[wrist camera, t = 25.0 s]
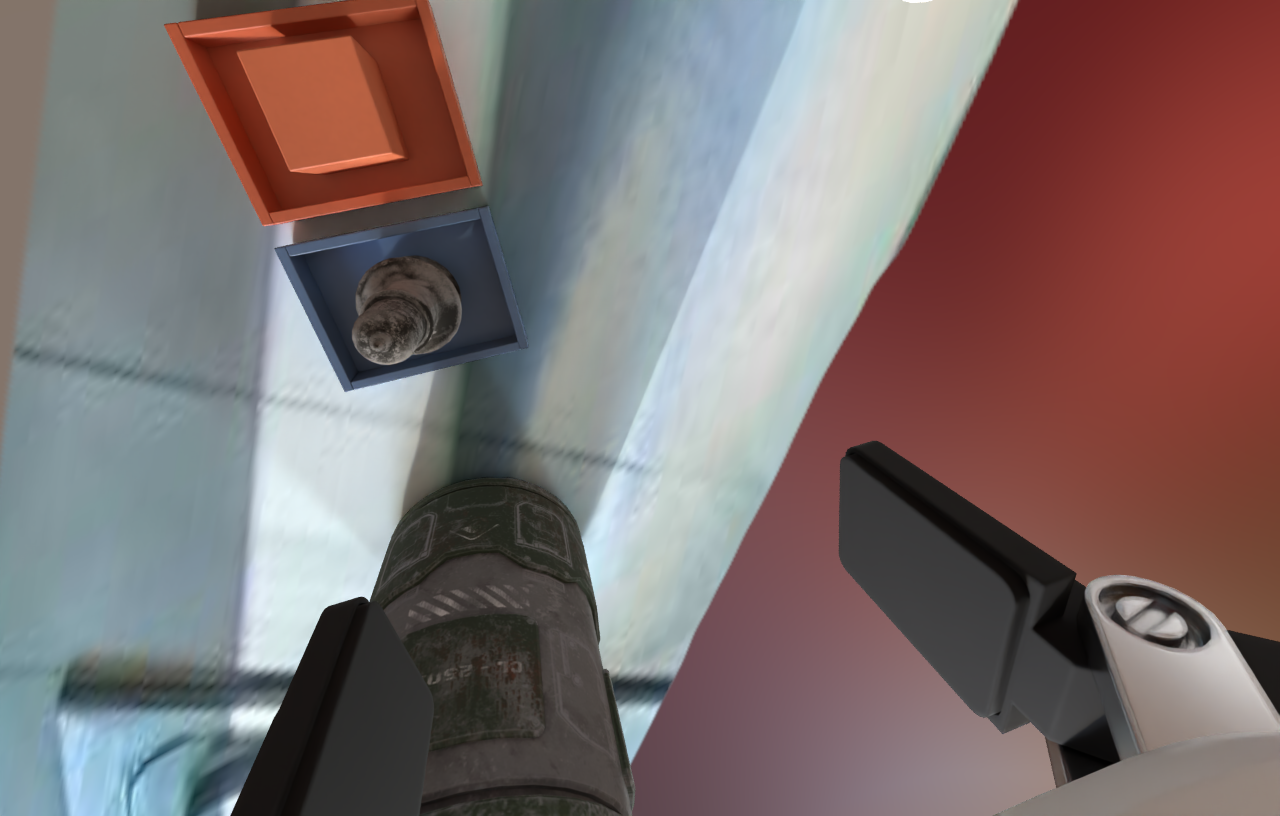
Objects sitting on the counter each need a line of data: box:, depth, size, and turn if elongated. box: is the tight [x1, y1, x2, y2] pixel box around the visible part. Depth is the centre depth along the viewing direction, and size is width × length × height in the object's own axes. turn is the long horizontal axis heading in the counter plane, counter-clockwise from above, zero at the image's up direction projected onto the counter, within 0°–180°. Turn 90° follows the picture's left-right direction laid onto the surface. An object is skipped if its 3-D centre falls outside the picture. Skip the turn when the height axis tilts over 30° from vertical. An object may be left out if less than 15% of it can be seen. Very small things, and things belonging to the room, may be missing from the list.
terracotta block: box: [237, 35, 410, 175], centre depth 25 cm, size 5×5×5 cm
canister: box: [370, 478, 635, 816], centre depth 30 cm, size 16×16×28 cm
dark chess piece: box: [352, 255, 462, 365], centre depth 27 cm, size 6×6×12 cm
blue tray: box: [275, 206, 528, 392], centre depth 31 cm, size 12×9×2 cm
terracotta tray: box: [164, 0, 483, 226], centre depth 27 cm, size 12×9×2 cm
